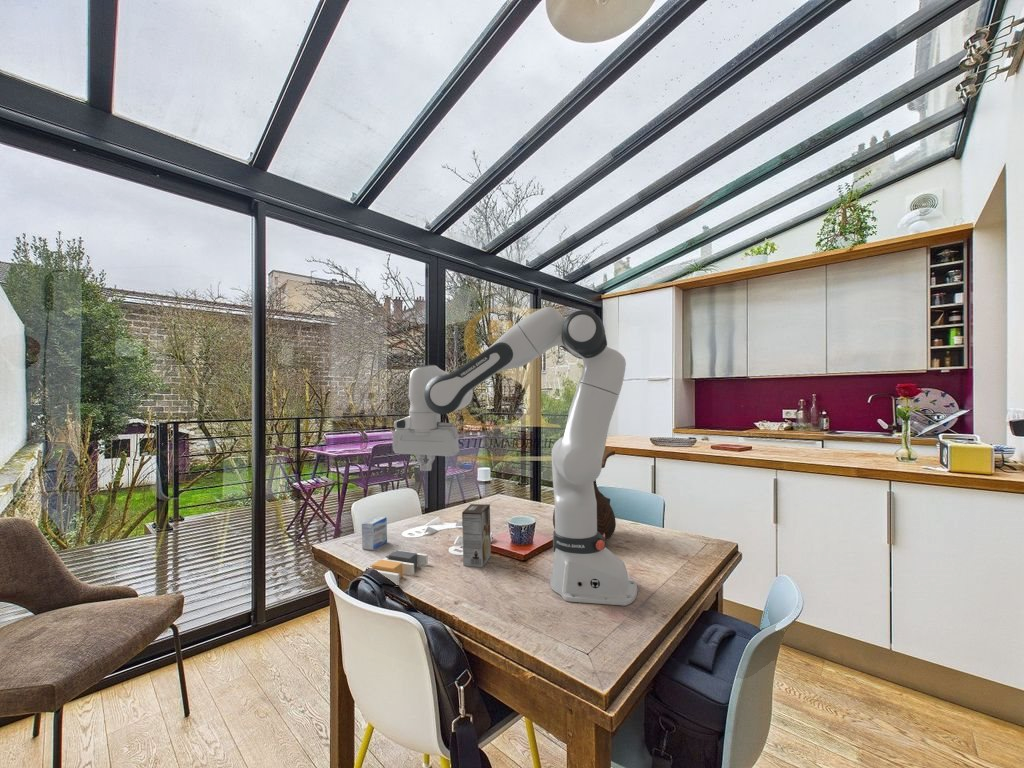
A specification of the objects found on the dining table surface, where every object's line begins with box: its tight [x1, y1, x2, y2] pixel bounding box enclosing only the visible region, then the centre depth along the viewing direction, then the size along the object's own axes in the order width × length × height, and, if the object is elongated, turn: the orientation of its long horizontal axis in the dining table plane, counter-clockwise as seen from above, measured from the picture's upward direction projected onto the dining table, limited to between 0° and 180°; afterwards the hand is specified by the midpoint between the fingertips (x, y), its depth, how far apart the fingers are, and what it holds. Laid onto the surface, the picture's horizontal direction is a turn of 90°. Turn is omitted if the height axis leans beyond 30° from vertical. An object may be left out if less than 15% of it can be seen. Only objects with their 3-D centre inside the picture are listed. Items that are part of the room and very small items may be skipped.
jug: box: [552, 447, 617, 542], centre depth 150 cm, size 22×22×30 cm
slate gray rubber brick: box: [388, 549, 418, 569], centre depth 130 cm, size 7×4×4 cm, turn 69°
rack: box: [364, 549, 429, 586], centre depth 126 cm, size 10×15×3 cm
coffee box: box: [461, 503, 492, 568], centre depth 134 cm, size 9×6×16 cm
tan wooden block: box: [371, 559, 403, 579], centre depth 123 cm, size 7×4×4 cm, turn 69°
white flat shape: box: [401, 516, 493, 557], centre depth 156 cm, size 35×24×3 cm
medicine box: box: [361, 516, 388, 551], centre depth 147 cm, size 8×4×9 cm, turn 161°
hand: (425, 470), depth 126 cm, fingers closed
